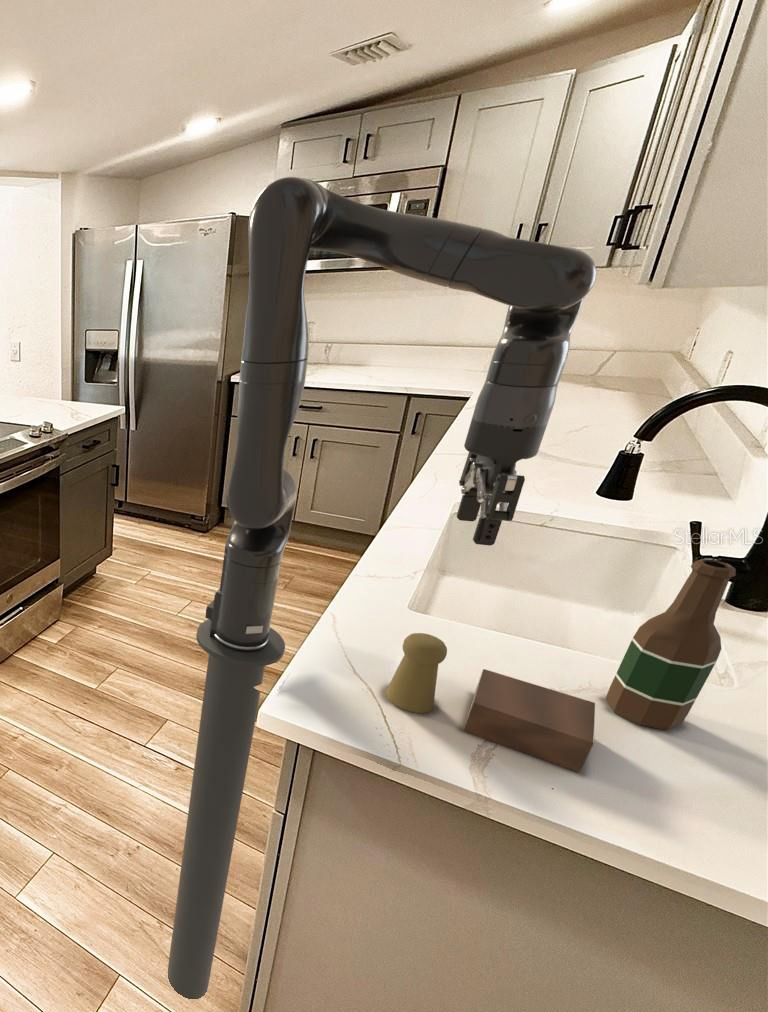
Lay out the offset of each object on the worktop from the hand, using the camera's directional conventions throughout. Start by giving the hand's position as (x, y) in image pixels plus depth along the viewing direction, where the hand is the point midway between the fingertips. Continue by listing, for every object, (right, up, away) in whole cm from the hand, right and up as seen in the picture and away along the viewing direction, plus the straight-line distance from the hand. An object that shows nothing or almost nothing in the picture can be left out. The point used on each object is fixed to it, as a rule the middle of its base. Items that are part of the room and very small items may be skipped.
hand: (473, 531), depth 86 cm
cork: (-4, -26, +7) cm, 27 cm away
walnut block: (+7, -28, 0) cm, 29 cm away
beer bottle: (+26, -26, +2) cm, 37 cm away
